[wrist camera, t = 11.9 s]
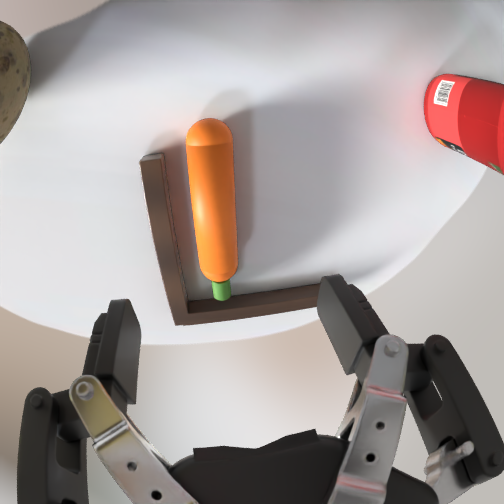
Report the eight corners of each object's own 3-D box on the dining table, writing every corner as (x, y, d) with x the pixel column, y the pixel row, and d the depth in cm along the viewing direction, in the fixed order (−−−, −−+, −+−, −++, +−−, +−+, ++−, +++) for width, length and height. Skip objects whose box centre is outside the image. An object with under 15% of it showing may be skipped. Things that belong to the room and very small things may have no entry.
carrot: (182, 119, 18) (185, 123, 15) (226, 114, 19) (237, 118, 16) (202, 287, 26) (208, 310, 24) (235, 281, 27) (244, 302, 24)
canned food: (426, 151, 23) (510, 196, 13) (414, 75, 18) (512, 93, 9) (467, 138, 22) (542, 175, 13) (460, 71, 18) (543, 92, 9)
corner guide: (143, 155, 19) (138, 161, 17) (342, 144, 21) (352, 149, 20) (175, 314, 28) (175, 326, 26) (322, 293, 30) (328, 304, 28)
